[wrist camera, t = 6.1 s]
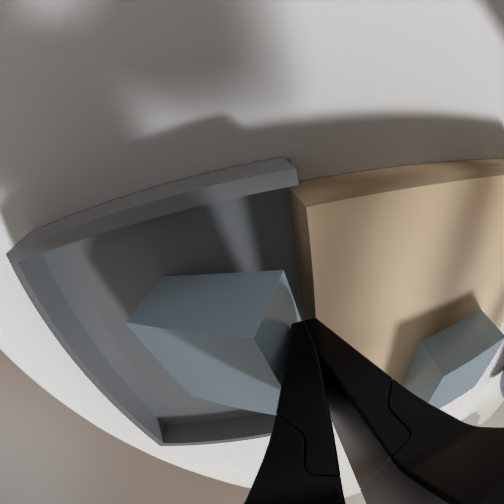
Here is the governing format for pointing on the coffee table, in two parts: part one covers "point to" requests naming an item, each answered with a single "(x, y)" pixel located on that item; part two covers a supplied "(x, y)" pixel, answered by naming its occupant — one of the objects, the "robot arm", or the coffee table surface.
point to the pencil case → (502, 383)
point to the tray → (147, 276)
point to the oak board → (401, 253)
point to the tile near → (221, 334)
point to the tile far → (453, 360)
